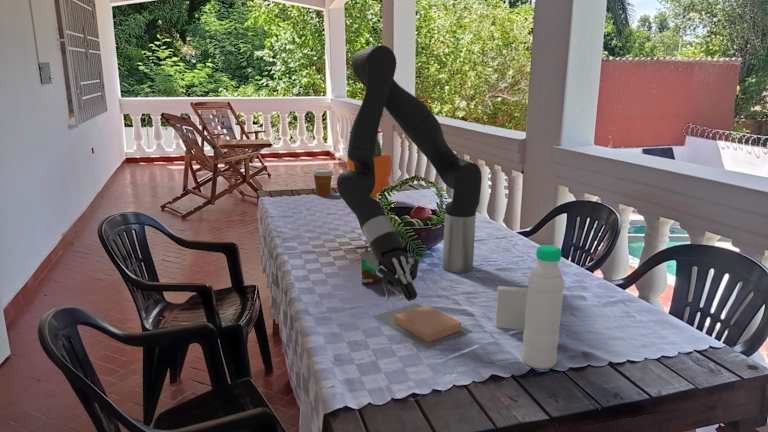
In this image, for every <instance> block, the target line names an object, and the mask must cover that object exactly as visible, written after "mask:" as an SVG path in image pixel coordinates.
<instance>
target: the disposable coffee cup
mask: <svg viewBox="0 0 768 432" xmlns="http://www.w3.org/2000/svg"><path fill="white" fill-rule="evenodd" d="M312 174H313V177H314V178H313V179H314V184H315V185H314V187H315V191H316V196H319V197H328V196H330V194H331V187H332V179H333V177H332V176H333V174H334V172H333V170H332V169H331V168H315V169H313V172H312Z"/></svg>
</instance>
